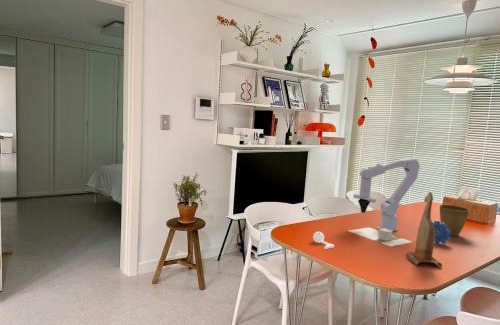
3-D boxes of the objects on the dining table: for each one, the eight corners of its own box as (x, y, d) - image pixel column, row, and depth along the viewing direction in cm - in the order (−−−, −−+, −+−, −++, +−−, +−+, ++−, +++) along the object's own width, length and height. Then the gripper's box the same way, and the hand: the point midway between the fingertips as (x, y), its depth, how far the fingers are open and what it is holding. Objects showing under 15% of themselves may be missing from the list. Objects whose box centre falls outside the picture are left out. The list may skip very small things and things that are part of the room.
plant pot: (433, 233, 202) (436, 206, 201) (440, 229, 213) (443, 203, 212) (462, 240, 192) (466, 212, 191) (468, 235, 203) (472, 208, 202)
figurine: (318, 229, 178) (337, 237, 169) (317, 239, 179) (336, 248, 170) (308, 231, 173) (327, 240, 164) (306, 242, 174) (325, 251, 165)
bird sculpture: (428, 258, 161) (435, 189, 158) (442, 268, 150) (451, 194, 147) (404, 257, 161) (411, 188, 158) (417, 267, 149) (425, 193, 146)
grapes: (424, 242, 185) (426, 220, 183) (425, 239, 190) (428, 217, 189) (449, 247, 178) (452, 224, 177) (450, 244, 184) (452, 222, 183)
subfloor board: (368, 228, 208) (368, 227, 208) (412, 242, 184) (412, 241, 184) (347, 231, 198) (347, 230, 198) (390, 247, 175) (390, 246, 175)
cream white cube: (385, 241, 183) (386, 231, 182) (378, 238, 187) (378, 229, 186) (392, 239, 185) (392, 230, 185) (384, 237, 190) (384, 228, 189)
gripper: (350, 187, 208) (348, 209, 209) (371, 191, 195) (368, 215, 197) (358, 186, 211) (356, 209, 213) (379, 191, 199) (377, 214, 201)
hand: (363, 212), depth 205 cm, fingers closed
